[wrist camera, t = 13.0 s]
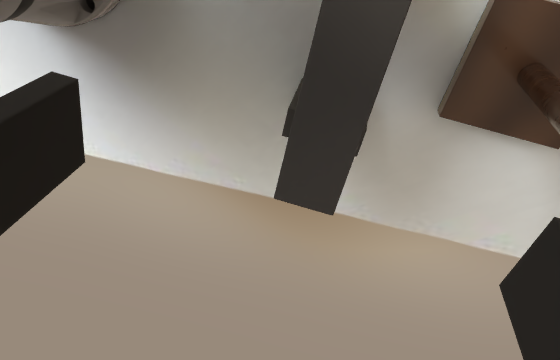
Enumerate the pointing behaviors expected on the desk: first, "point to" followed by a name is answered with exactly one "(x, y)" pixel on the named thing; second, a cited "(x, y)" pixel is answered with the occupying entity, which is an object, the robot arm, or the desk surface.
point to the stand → (511, 73)
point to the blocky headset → (336, 98)
